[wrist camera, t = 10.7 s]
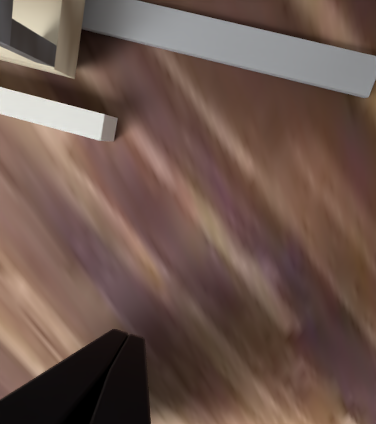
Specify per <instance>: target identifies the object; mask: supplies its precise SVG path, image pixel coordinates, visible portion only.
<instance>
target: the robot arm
mask: <svg viewBox="0 0 376 424" xmlns="http://www.w3.org/2000/svg"><path fill="white" fill-rule="evenodd" d="M0 424H151V418H150V404H149V390H148V376H147V362H146V348H145V339H144V338H143V337H140V336H137V335H133V334H130V335H129V336H128V333H127V332H124V331H121V330H117V329H112V330H110V331H109V332H107V333H106V334H104V335H102V336H101V337H99V338H98V339H96V340H95V341H93V342H91V343H90V344H88V345H87V346H85V347H83V348H82V349H80V350H79V351H77V352H75V353H74V354H72V355H71V356H69V357H67V358H66V359H64V360H63V361H61V362H59V363H58V364H56V365H55V366H53V367H51V368H50V369H48V370H47V371H45V372H44V373H42V374H40V375H39V376H37V377H36V378H34V379H32V380H31V381H29V382H28V383H26V384H24V385H23V386H21V387H20V388H18V389H16V390H15V391H13V392H12V393H10V394H8V395H7V396H5V397H4V398H2V399H0Z"/></svg>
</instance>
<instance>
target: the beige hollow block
mask: <svg viewBox="0 0 376 424" xmlns="http://www.w3.org/2000/svg"><path fill="white" fill-rule="evenodd" d="M84 6H85V0H0V60H3V61H7V62H11V63H14V64H18V65H22V66H26V67H30V68H34V69H38V70H42V71H46V72H50V73H54V74H58V75H61V76H65V77H69V78H73V79H75V74H76V66H77V59H78V51H79V44H80V36H81V29H82V21H83V14H84Z"/></svg>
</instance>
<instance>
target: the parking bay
mask: <svg viewBox="0 0 376 424" xmlns="http://www.w3.org/2000/svg"><path fill="white" fill-rule="evenodd" d="M82 29H83V30H87V31H91V32H95V33H99V34H103V35H107V36H112V37H116V38H120V39H124V40H128V41H132V42H136V43H140V44H144V45H149V46H153V47H157V48H161V49H165V50H169V51H173V52H177V53H181V54H186V55H190V56H194V57H198V58H202V59H206V60H210V61H214V62H218V63H223V64H227V65H231V66H235V67H239V68H243V69H247V70H251V71H255V72H259V73H264V74H268V75H272V76H276V77H280V78H284V79H288V80H292V81H296V82H301V83H305V84H309V85H313V86H317V87H321V88H325V89H329V90H333V91H338V92H342V93H346V94H350V95H354V96H358V97H362V98H367V97H369V95H370V92H371V90H372V87H373V85H374V82H375V80H376V56H373V55H369V54H365V53H360V52H356V51H352V50H347V49H343V48H339V47H335V46H330V45H326V44H322V43H317V42H313V41H309V40H305V39H300V38H296V37H292V36H287V35H283V34H279V33H275V32H270V31H266V30H262V29H257V28H253V27H249V26H245V25H240V24H236V23H232V22H227V21H223V20H219V19H215V18H210V17H206V16H202V15H198V14H193V13H189V12H185V11H180V10H176V9H172V8H168V7H163V6H159V5H155V4H150V3H146V2H142V1H138V0H85V6H84V14H83V21H82ZM0 114H3V115H6V116H10V117H14V118H18V119H21V120H25V121H29V122H32V123H36V124H40V125H44V126H47V127H51V128H55V129H59V130H62V131H66V132H70V133H73V134H77V135H81V136H85V137H88V138H92V139H96V140H100V141H114V137H115V131H116V126H117V120H118V118H116V117H112V116H109V115H105V114H101V113H97V112H94V111H90V110H86V109H82V108H78V107H75V106H71V105H67V104H63V103H59V102H56V101H52V100H48V99H44V98H40V97H36V96H33V95H29V94H25V93H21V92H17V91H14V90H10V89H6V88H2V87H0Z"/></svg>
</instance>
